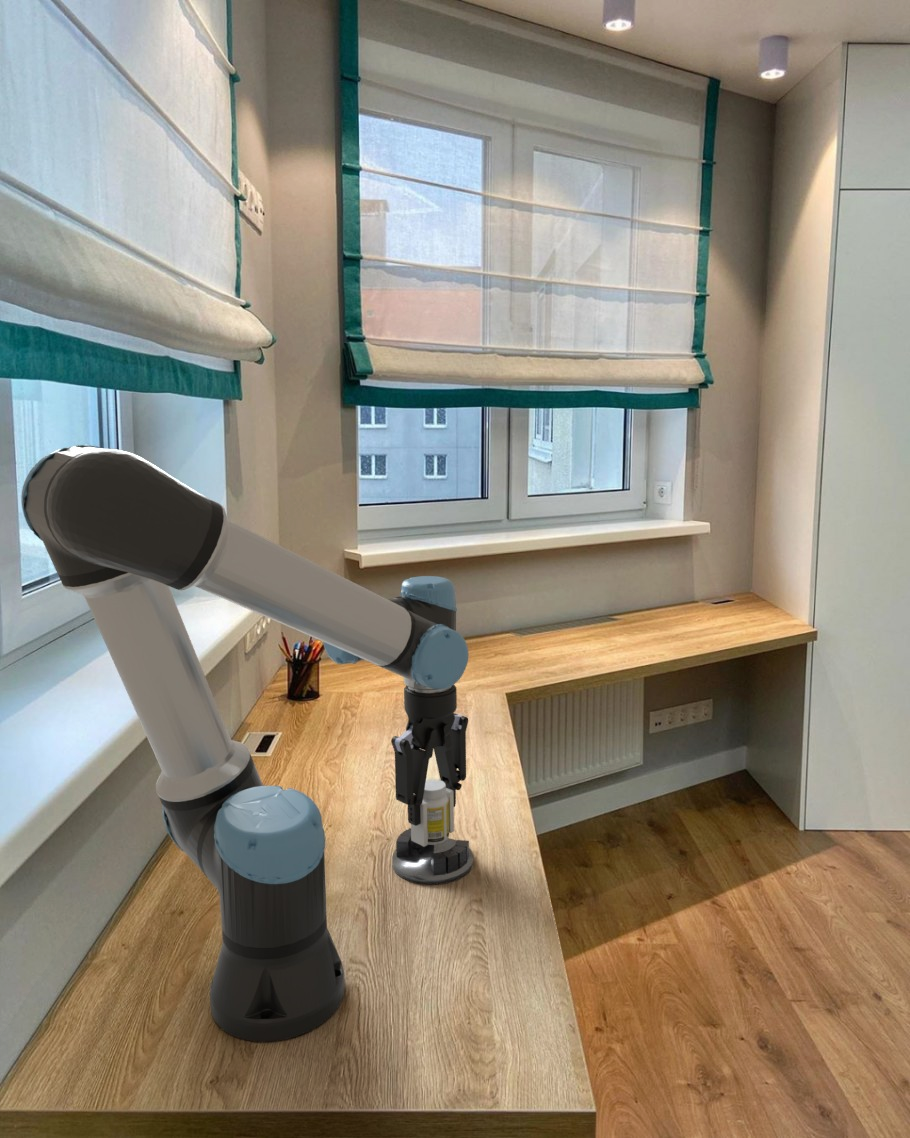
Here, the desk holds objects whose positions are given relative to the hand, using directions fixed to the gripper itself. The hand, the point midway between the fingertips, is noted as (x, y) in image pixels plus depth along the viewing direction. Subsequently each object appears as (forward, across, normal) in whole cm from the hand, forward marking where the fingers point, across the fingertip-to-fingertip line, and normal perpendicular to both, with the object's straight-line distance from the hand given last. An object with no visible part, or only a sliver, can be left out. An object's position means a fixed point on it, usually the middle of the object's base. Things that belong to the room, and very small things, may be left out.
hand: (432, 835), depth 128 cm
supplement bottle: (+1, 0, 0) cm, 1 cm away
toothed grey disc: (+4, 0, 0) cm, 4 cm away
